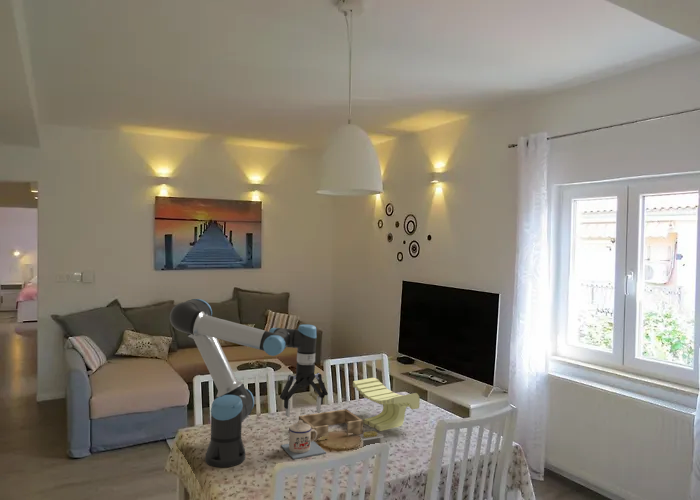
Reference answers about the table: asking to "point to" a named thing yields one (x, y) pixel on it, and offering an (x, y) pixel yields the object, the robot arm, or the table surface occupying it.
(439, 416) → the table surface
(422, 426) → the table surface
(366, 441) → the platform
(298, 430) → the teacup with lid
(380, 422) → the slatted curved stool
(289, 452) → the mat
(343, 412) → the open enclosure
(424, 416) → the table surface
